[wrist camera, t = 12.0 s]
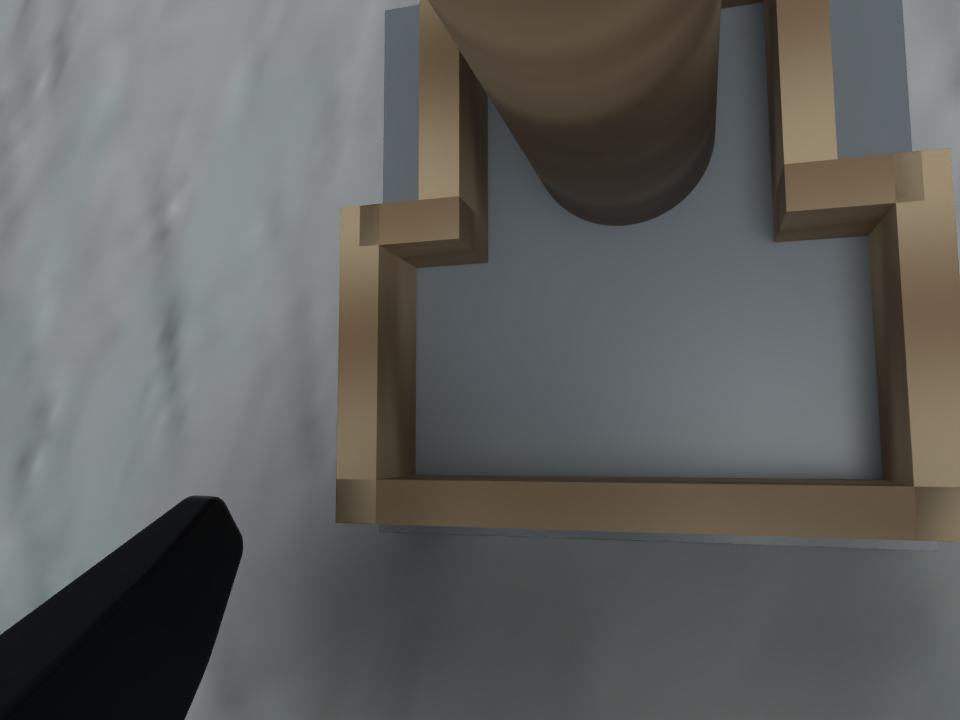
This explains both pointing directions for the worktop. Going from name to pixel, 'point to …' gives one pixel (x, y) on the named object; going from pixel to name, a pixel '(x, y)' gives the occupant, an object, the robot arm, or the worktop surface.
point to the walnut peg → (600, 94)
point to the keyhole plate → (661, 312)
